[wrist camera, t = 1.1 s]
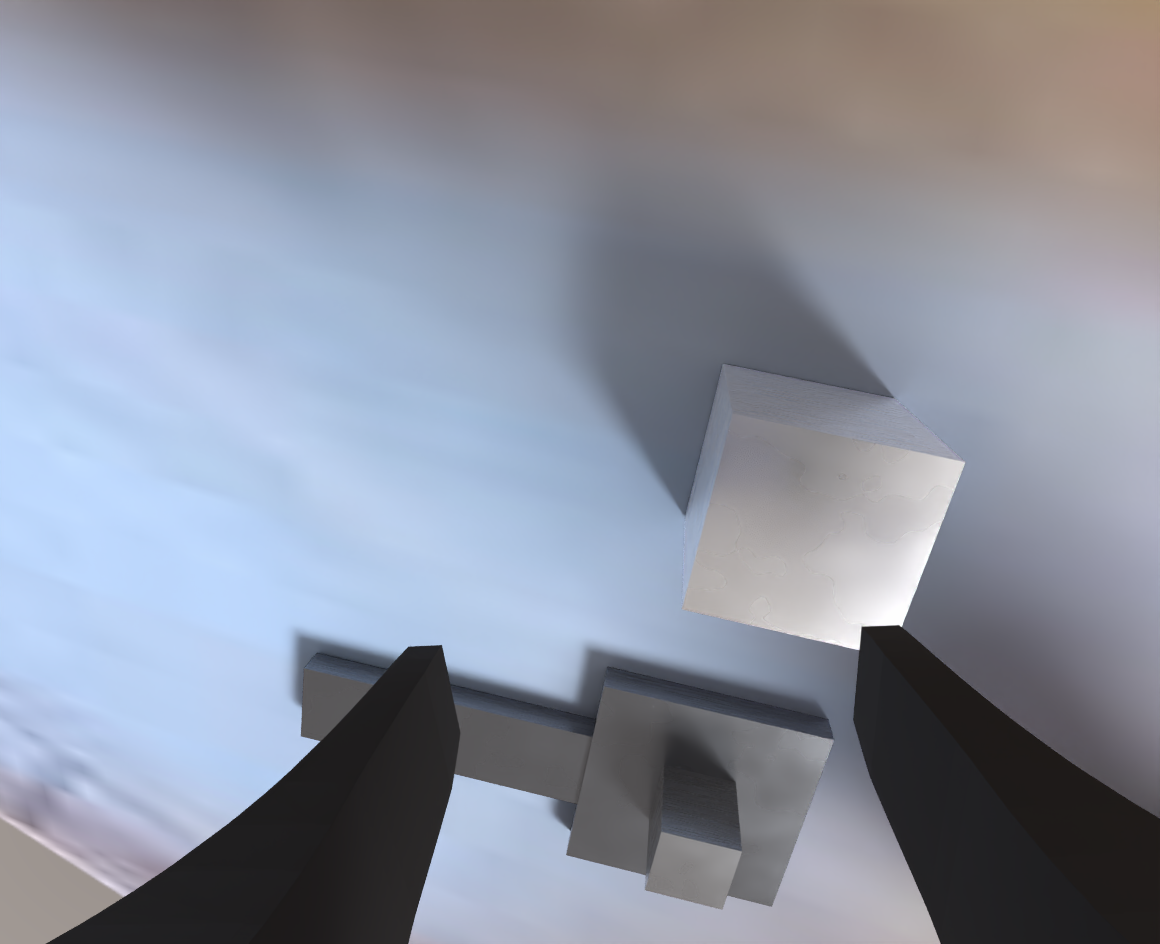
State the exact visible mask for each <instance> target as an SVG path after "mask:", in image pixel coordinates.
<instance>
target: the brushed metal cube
mask: <svg viewBox="0 0 1160 944" xmlns="http://www.w3.org/2000/svg"><path fill="white" fill-rule="evenodd" d="M964 465H965V461H964V460H963V459H961V458H960V457H959V456H958V455H957V454H956V453H955V452H954V451H953V450H952V449H950V448H949V447H948V446H947V445H946V444H945V443H944V442H943V441H942V440H941V439H939V438H938V437H937V436H936V435H935V434H934V433H933V432H932V431H931V430H930V429H928V428H927V427H926V426H925V425H924V424H923V423H922V422H921V421H920V420H918V419H917V418H916V417H915V416H914V415H913V414H912V413H911V412H910V411H909V410H907V409H906V408H905V407H904V406H903V405H902V404H901V403H900V402H899V401H898V400H896V399H895V398H890V397H885V396H880V395H875V394H871V393H866V392H861V391H856V390H851V389H846V388H841V387H836V386H831V385H826V384H821V383H816V382H811V381H806V380H801V379H796V378H791V377H787V376H782V375H777V374H772V373H767V372H762V371H757V370H752V369H747V368H742V367H737V366H732V365H727V364H723V365H722V369H721V374H720V378H719V382H718V386H717V390H716V394H715V398H714V402H713V406H712V410H711V414H710V418H709V422H708V426H707V430H706V434H705V438H704V442H703V446H702V450H701V454H700V458H699V462H698V466H697V470H696V474H695V478H694V482H693V486H692V490H691V494H690V498H689V503H688V507H687V511H686V515H685V529H684V559H683V589H682V609H683V610H687V611H691V612H696V613H700V614H704V615H709V616H713V617H717V618H722V619H726V620H730V621H735V622H739V623H743V624H748V625H752V626H756V627H761V628H765V629H769V630H774V631H778V632H782V633H787V634H791V635H795V636H800V637H804V638H808V639H813V640H817V641H821V642H826V643H830V644H834V645H839V646H843V647H847V648H852V649H856V650H860V639H861V627H865V626H888V625H900V626H901V627H902V624H903V622H904V619H905V617H906V614H907V611H908V609H909V606H910V604H911V601H912V599H913V596H914V593H915V591H916V588H917V586H918V583H919V581H920V578H921V575H922V573H923V570H924V568H925V565H926V563H927V560H928V557H929V555H930V552H931V550H932V547H933V545H934V542H935V539H936V537H937V534H938V532H939V529H940V527H941V524H942V521H943V519H944V516H945V514H946V511H947V509H948V506H949V503H950V501H951V498H952V496H953V493H954V491H955V488H956V485H957V483H958V480H959V478H960V475H961V473H962V470H963V467H964Z"/></svg>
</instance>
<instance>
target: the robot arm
mask: <svg viewBox="0 0 1160 944" xmlns="http://www.w3.org/2000/svg"><path fill="white" fill-rule="evenodd" d="M853 720H854V724H855V727H856V731H857V734H858V738H859V741H860V745H861V749H862V752H863V755H864V758H865V762H866V765H867V768H868V771H869V775H870V778H871V780H872V783H873V785H874V787H875V790H876V792H877V794H878V797H879V799H880V801H881V804H882V806H883V808H884V811H885V813H886V815H887V818H888V820H889V822H890V825H891V827H892V829H893V832H894V834H895V836H896V838H897V841H898V843H899V845H900V848H901V850H902V852H903V855H904V857H905V859H906V861H907V864H908V866H909V868H910V871H911V873H912V875H913V877H914V880H915V882H916V884H917V887H918V889H919V891H920V893H921V896H922V898H923V900H924V903H925V905H926V907H927V910H928V912H929V915H930V917H931V920H932V922H933V925H934V927H935V930H936V933H937V935H938V938H939V940H940V943H941V944H1160V818H1158V817H1156V816H1154V815H1153V814H1151V813H1149V812H1148V811H1146V810H1144V809H1143V808H1141V807H1139V806H1138V805H1136V804H1134V803H1133V802H1131V801H1129V800H1128V799H1126V798H1125V797H1123V796H1122V795H1120V794H1118V793H1117V792H1115V791H1114V790H1112V789H1111V788H1109V787H1108V786H1106V785H1104V784H1103V783H1101V782H1100V781H1098V780H1097V779H1095V778H1094V777H1092V776H1090V775H1089V774H1087V773H1086V772H1084V771H1083V770H1081V769H1080V768H1078V767H1077V766H1075V765H1074V764H1072V763H1071V762H1069V761H1068V760H1067V759H1065V758H1064V757H1062V756H1061V755H1059V754H1058V753H1057V752H1055V751H1054V750H1052V749H1051V748H1050V747H1048V746H1047V745H1046V744H1044V743H1043V742H1042V741H1040V740H1039V739H1037V738H1036V737H1035V736H1033V735H1032V734H1031V733H1029V732H1028V731H1027V730H1025V729H1024V728H1022V727H1021V726H1020V725H1019V724H1017V723H1016V722H1015V721H1013V720H1012V719H1011V718H1009V717H1008V716H1007V715H1006V714H1004V713H1003V712H1002V711H1000V710H999V709H998V708H997V707H995V706H994V705H993V704H992V703H990V702H989V701H988V700H987V699H985V698H984V697H983V696H982V695H981V694H979V693H978V692H977V691H976V690H974V689H973V688H972V687H971V686H970V685H968V684H967V683H966V682H965V681H964V680H962V679H961V678H960V677H959V676H958V675H957V674H955V673H954V672H953V671H952V670H951V669H950V668H948V667H947V666H946V665H945V664H944V663H943V662H941V661H940V660H939V659H938V658H937V657H936V656H934V655H933V654H932V653H931V652H930V651H929V650H928V649H926V648H925V647H924V646H923V645H922V644H921V643H920V642H918V641H917V640H916V639H915V638H914V637H913V636H912V635H910V634H909V633H908V632H907V631H906V630H904V629H903V628H902V627H901V626H900V625H888V626H865V627H861V639H860V650H859V661H858V673H857V684H856V695H855V706H854V718H853ZM460 734H461V733H460V728H459V723H458V719H457V714H456V709H455V704H454V700H453V695H452V690H451V686H450V681H449V676H448V672H447V667H446V662H445V658H444V653H443V648H442V645H436V646H414V647H408V648H407V649H406V650H405V651H404V652H403V653H402V654H401V655H400V656H399V657H398V658H397V659H396V660H395V662H394V663H393V664H392V665H391V666H390V667H389V668H388V669H387V670H386V672H385V673H384V674H383V675H382V676H381V677H380V678H379V679H378V680H377V682H376V683H375V684H374V685H373V686H372V687H371V688H370V689H369V690H368V692H367V693H366V694H365V695H364V696H363V697H362V698H361V699H360V700H359V702H358V703H357V704H356V705H355V706H354V707H353V708H352V709H351V710H350V711H349V712H348V713H347V714H346V715H345V717H344V718H343V719H342V720H341V721H340V722H339V723H338V724H337V725H336V726H335V727H334V728H333V729H332V730H331V731H330V732H329V733H328V735H327V736H326V737H324V738H323V739H322V740H321V741H320V742H319V743H318V744H317V745H316V746H315V747H314V748H313V749H312V750H311V751H310V752H309V753H308V754H307V755H306V756H305V757H304V758H303V759H302V760H301V761H300V762H299V763H298V764H297V765H296V766H295V767H294V768H293V769H292V770H291V771H290V772H289V773H287V774H286V775H285V776H284V777H283V778H282V779H281V780H280V781H279V782H278V783H276V784H275V785H274V786H273V787H272V788H271V789H270V790H268V791H267V792H266V793H265V794H264V795H263V796H261V797H260V798H259V799H258V800H257V801H255V802H254V803H253V804H252V805H251V806H249V807H248V808H247V809H246V810H245V811H243V812H242V813H241V814H240V815H239V816H237V817H236V818H235V819H234V820H232V821H231V822H230V823H229V824H227V825H226V826H225V827H223V828H222V829H221V830H219V831H218V832H217V833H215V834H214V835H212V836H211V837H210V838H208V839H207V840H206V841H204V842H203V843H202V844H200V845H199V846H198V847H196V848H195V849H193V850H192V851H191V852H189V853H188V854H187V855H185V856H184V857H183V858H181V859H180V860H179V861H177V862H176V863H175V864H173V865H172V866H170V867H169V868H167V869H166V870H165V871H163V872H162V873H160V874H159V875H157V876H156V877H154V878H153V879H151V880H150V881H148V882H147V883H145V884H144V885H142V886H141V887H139V888H138V889H136V890H135V891H133V892H131V893H130V894H128V895H127V896H125V897H124V898H122V899H120V900H119V901H117V902H116V903H114V904H112V905H111V906H109V907H108V908H106V909H105V910H103V911H101V912H100V913H98V914H97V915H95V916H93V917H91V918H90V919H88V920H86V921H85V922H83V923H81V924H80V925H78V926H76V927H75V928H73V929H71V930H69V931H67V932H66V933H64V934H62V935H60V936H59V937H57V938H55V939H53V940H52V941H50V942H48V943H46V944H408V942H409V938H410V934H411V930H412V926H413V922H414V918H415V914H416V911H417V908H418V904H419V901H420V897H421V894H422V890H423V887H424V884H425V880H426V877H427V873H428V870H429V866H430V863H431V860H432V856H433V853H434V849H435V846H436V843H437V839H438V836H439V832H440V829H441V825H442V822H443V818H444V815H445V811H446V808H447V804H448V800H449V797H450V793H451V790H452V784H453V778H454V773H455V767H456V761H457V754H458V747H459V741H460Z"/></svg>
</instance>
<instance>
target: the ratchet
mask: <svg viewBox="0 0 1160 944" xmlns="http://www.w3.org/2000/svg"><path fill="white" fill-rule="evenodd" d="M385 672H386V669H382V668H378V667H374V666H369V665H365V664H361V663H357V662H352V661H348V660H344V659H340V658H336V657H331V656H327V655H323V654H319V653H316V655H315V656H314V657H313V658H312V659H311V660H310V662H309V663H308V664H307V665H306V666H305V668H304V679H303V701H302V724H301V736H302V737H306V738H310V739H314V740H318V741H321V740H322V739H323V738H324V737H326V736H327V735H328V733H329V732H330V731H331V730H332V729H333V728H334V727H335V726H336V725H337V724H338V723H339V722H340V721H341V720H342V719H343V718H344V717H345V715H346V714H347V713H348V712H349V711H350V710H351V709H352V708H353V707H354V706H355V705H356V704H357V703H358V702H359V700H360V699H361V698H362V697H363V696H364V695H365V694H366V693H367V692H368V690H369V689H370V688H371V687H372V686H373V685H374V684H375V683H376V682H377V680H378V679H379V678H380V677H381V676H382V675H383V674H384V673H385ZM450 686H451V690H452V695H453V700H454V704H455V709H456V714H457V719H458V723H459V728H460V733H461V734H460V741H459V747H458V754H457V761H456V767H455V773H454V774H457V775H461V776H465V777H469V778H473V779H477V780H481V781H485V782H489V783H494V784H498V785H502V786H506V787H510V788H514V789H518V790H522V791H526V792H530V793H534V794H538V795H542V796H547V797H551V798H555V799H559V800H563V801H567V802H571V803H575V804H577V805H576V810H575V814H574V819H573V823H572V827H571V832H570V838H569V843H568V848H567V854H566V855H568V856H572V857H576V858H580V859H584V860H588V861H592V862H596V863H600V864H604V865H608V866H612V867H616V868H620V869H624V870H628V871H632V872H636V873H640V874H644V875H646V880H645V890H647V891H651V892H655V893H659V894H663V895H667V896H670V897H674V898H678V899H682V900H686V901H690V902H694V903H698V904H702V905H706V906H710V907H714V908H718V909H723V906H724V903H725V900H726V897H727V896H731V897H735V898H739V899H743V900H747V901H751V902H755V903H759V904H763V905H767V906H771V907H772V905H773V902H774V899H775V897H776V894H777V891H778V889H779V886H780V883H781V881H782V878H783V875H784V873H785V870H786V867H787V865H788V862H789V859H790V857H791V854H792V851H793V849H794V846H795V843H796V841H797V838H798V835H799V833H800V830H801V827H802V825H803V822H804V819H805V817H806V814H807V811H808V809H809V806H810V803H811V801H812V798H813V795H814V793H815V790H816V787H817V785H818V782H819V779H820V777H821V774H822V771H823V769H824V766H825V763H826V761H827V758H828V755H829V753H830V750H831V747H832V745H833V742H834V738H833V734H832V731H831V727H830V724H829V720H828V719H824V718H820V717H816V716H812V715H808V714H803V713H799V712H795V711H791V710H787V709H783V708H778V707H774V706H770V705H766V704H762V703H757V702H753V701H749V700H745V699H741V698H737V697H732V696H728V695H724V694H720V693H716V692H711V691H707V690H703V689H699V688H695V687H691V686H686V685H682V684H678V683H674V682H670V681H665V680H661V679H657V678H653V677H649V676H645V675H640V674H636V673H632V672H628V671H624V670H620V669H615V668H611V667H607V671H606V676H605V680H604V685H603V689H602V694H601V698H600V703H599V707H598V712H597V716H596V719H592V718H588V717H583V716H579V715H575V714H571V713H567V712H563V711H559V710H555V709H551V708H547V707H542V706H538V705H534V704H530V703H526V702H521V701H517V700H513V699H509V698H504V697H500V696H496V695H492V694H488V693H483V692H479V691H475V690H471V689H466V688H462V687H458V686H454V685H450Z"/></svg>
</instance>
